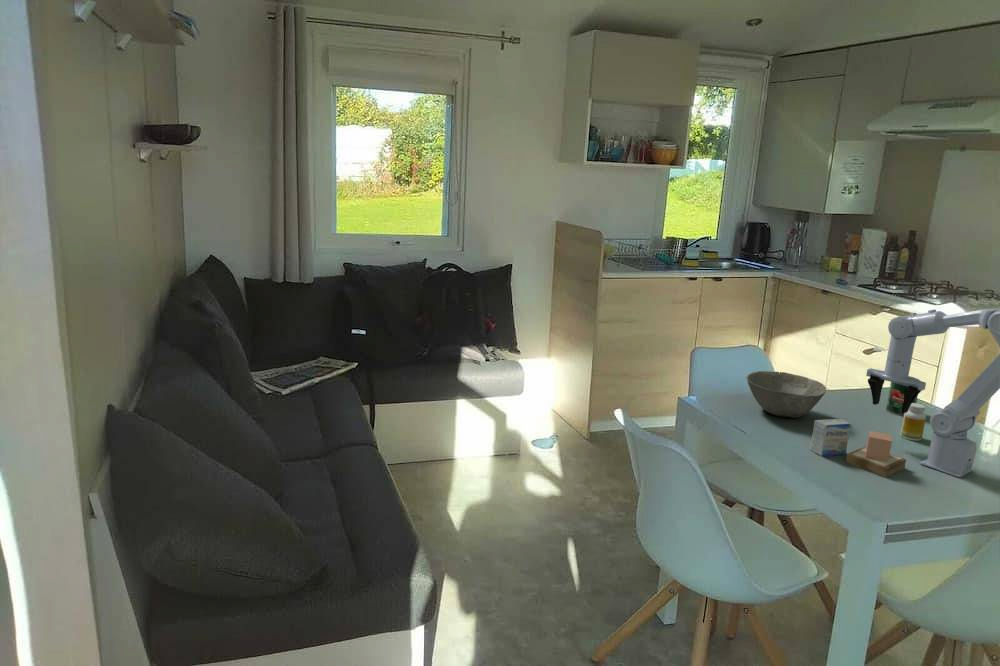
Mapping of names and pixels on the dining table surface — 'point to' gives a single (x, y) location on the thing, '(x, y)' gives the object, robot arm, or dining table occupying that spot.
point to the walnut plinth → (875, 463)
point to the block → (878, 446)
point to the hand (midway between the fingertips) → (889, 408)
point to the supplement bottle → (913, 422)
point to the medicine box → (830, 437)
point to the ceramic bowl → (785, 392)
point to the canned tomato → (897, 398)
